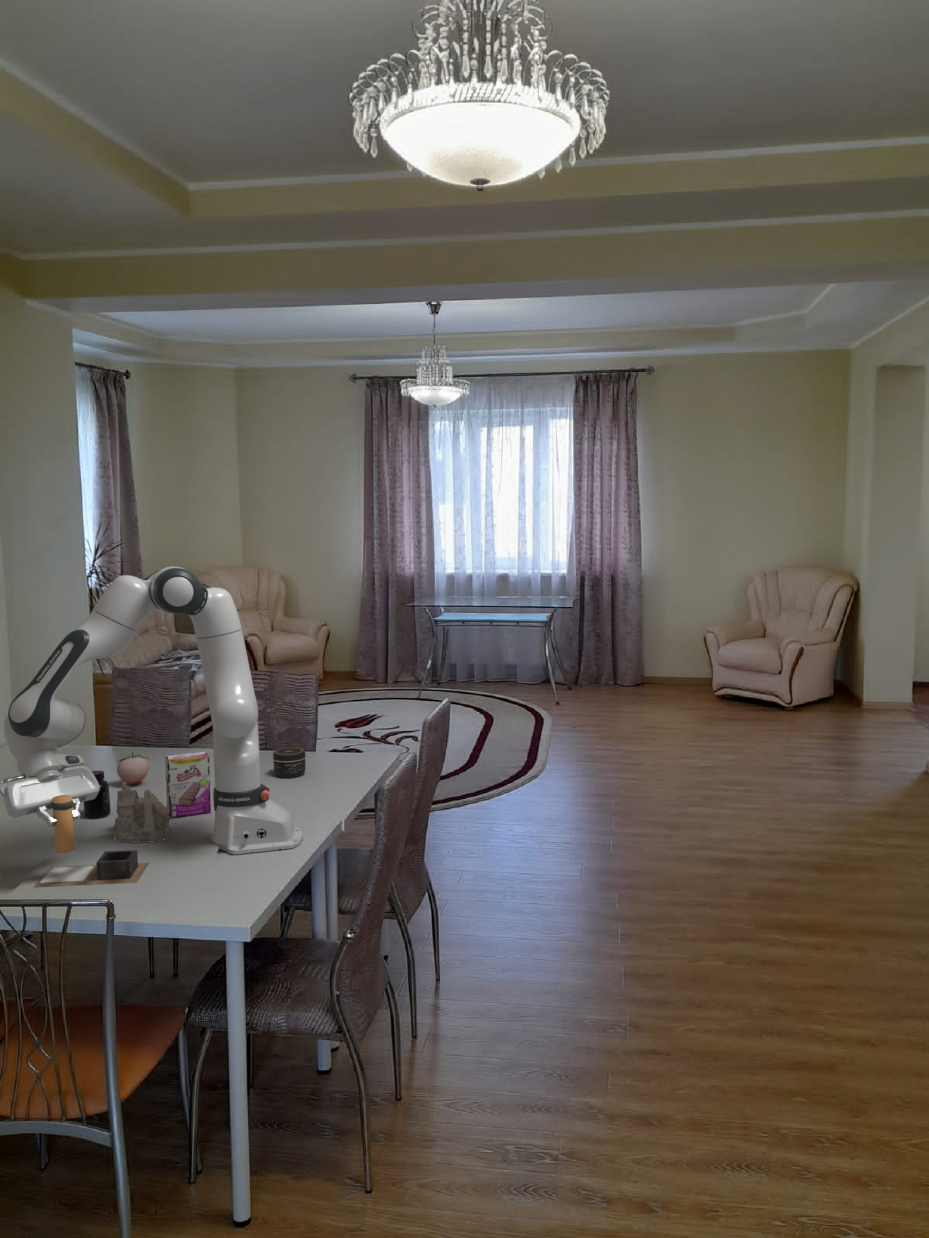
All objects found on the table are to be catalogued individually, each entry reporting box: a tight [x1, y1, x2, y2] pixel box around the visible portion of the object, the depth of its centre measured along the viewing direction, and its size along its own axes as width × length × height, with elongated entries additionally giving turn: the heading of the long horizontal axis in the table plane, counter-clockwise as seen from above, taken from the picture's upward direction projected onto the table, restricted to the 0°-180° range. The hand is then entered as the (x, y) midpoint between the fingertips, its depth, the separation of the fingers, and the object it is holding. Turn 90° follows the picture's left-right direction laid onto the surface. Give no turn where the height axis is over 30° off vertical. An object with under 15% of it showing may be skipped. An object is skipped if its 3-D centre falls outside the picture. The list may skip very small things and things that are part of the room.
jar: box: [272, 747, 307, 780], centre depth 304 cm, size 10×10×8 cm
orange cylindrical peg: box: [52, 795, 76, 854], centre depth 217 cm, size 4×4×12 cm
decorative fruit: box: [116, 752, 150, 786], centre depth 295 cm, size 9×8×10 cm
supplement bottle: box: [82, 770, 112, 820], centre depth 266 cm, size 7×7×12 cm
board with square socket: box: [33, 849, 150, 888], centre depth 219 cm, size 22×12×6 cm, turn 95°
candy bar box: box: [164, 751, 212, 819], centre depth 266 cm, size 11×5×16 cm, turn 115°
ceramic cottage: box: [112, 781, 174, 843], centre depth 252 cm, size 16×16×15 cm
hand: (64, 821), depth 216 cm, fingers closed on orange cylindrical peg, 4 cm apart
